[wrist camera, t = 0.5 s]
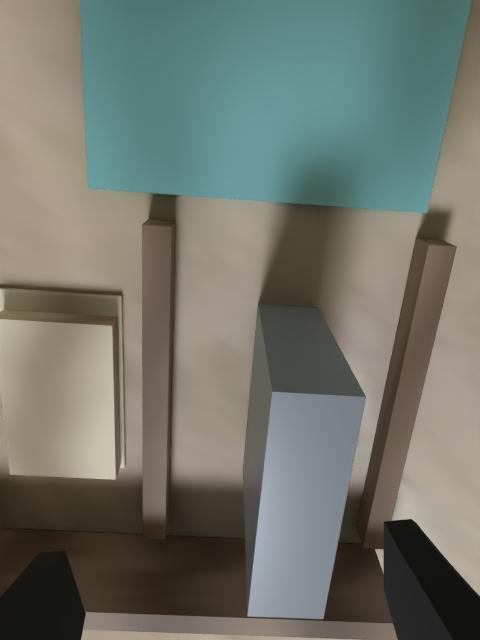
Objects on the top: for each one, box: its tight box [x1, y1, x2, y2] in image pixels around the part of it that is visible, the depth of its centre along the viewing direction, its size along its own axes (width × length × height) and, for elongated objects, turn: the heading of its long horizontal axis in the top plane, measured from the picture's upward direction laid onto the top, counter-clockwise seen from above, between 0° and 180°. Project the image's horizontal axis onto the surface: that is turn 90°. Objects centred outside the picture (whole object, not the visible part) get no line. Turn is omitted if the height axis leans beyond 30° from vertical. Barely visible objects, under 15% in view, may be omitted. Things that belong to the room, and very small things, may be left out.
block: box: [243, 304, 366, 619], centre depth 16 cm, size 2×8×7 cm, turn 176°
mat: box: [80, 0, 472, 213], centre depth 14 cm, size 12×12×1 cm
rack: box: [0, 219, 457, 640], centre depth 18 cm, size 19×16×4 cm
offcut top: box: [0, 310, 121, 480], centre depth 19 cm, size 4×7×1 cm, turn 176°
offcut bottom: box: [0, 288, 126, 468], centre depth 20 cm, size 5×8×1 cm, turn 176°
